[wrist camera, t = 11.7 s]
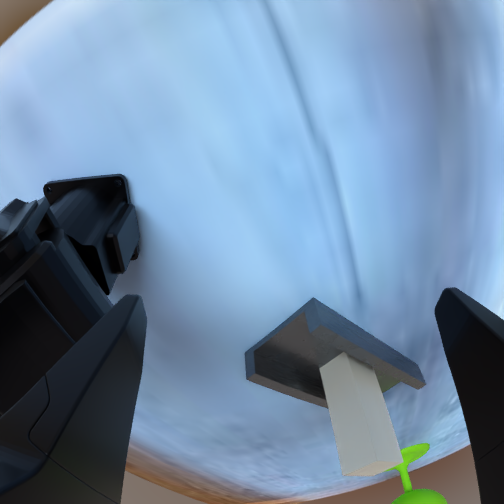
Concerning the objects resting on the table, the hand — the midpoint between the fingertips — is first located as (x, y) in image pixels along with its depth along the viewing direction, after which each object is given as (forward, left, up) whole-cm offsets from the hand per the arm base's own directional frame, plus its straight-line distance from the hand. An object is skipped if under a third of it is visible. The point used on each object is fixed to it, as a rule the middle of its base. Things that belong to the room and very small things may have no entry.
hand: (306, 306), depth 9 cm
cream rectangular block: (+9, -21, -12) cm, 26 cm away
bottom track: (+9, -21, -13) cm, 27 cm away
